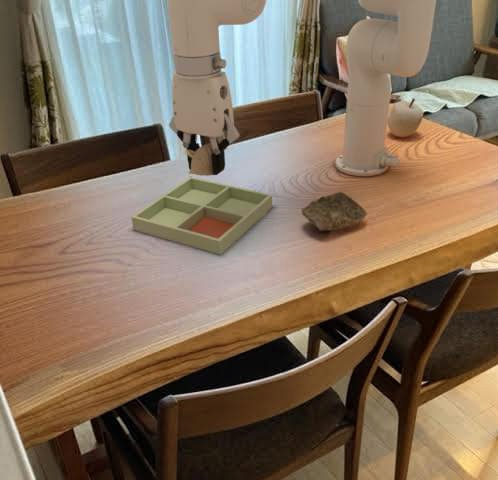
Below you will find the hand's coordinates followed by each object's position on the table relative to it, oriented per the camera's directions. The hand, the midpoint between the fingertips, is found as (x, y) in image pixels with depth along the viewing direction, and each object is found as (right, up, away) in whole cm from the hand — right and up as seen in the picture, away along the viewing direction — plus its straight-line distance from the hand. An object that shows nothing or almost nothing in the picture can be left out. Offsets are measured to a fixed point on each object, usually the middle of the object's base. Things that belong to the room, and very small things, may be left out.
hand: (206, 168), depth 100 cm
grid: (-1, -7, +13) cm, 15 cm away
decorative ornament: (0, -1, +1) cm, 1 cm away
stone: (+25, -9, +9) cm, 28 cm away
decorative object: (+49, +21, +45) cm, 70 cm away
